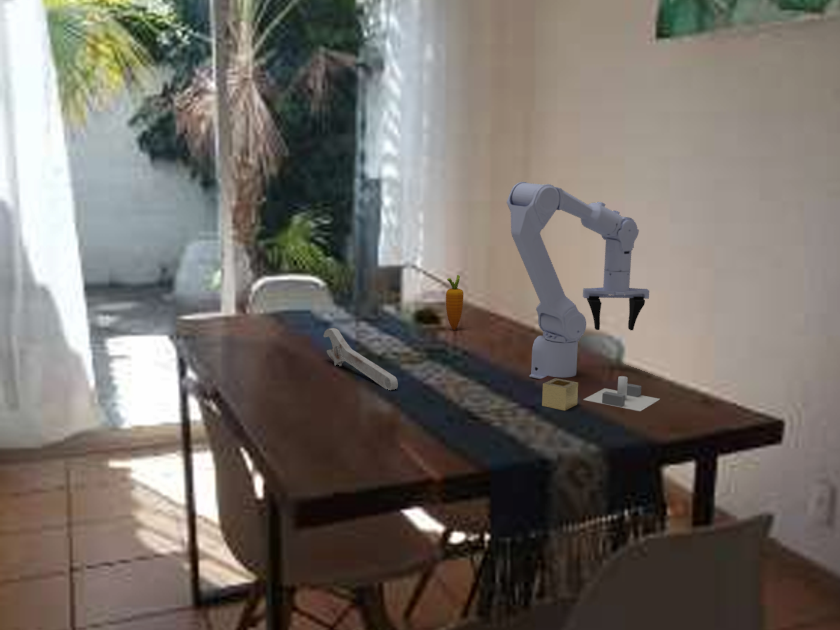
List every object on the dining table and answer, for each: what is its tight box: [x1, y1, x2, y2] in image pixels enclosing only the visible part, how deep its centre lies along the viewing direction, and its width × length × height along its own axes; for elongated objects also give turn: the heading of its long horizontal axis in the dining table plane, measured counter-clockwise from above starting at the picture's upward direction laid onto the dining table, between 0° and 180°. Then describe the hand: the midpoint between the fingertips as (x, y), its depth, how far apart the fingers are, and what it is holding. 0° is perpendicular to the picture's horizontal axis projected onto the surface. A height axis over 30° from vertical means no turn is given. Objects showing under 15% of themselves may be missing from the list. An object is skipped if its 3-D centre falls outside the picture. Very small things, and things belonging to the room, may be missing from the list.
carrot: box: [445, 274, 464, 331], centre depth 242 cm, size 5×5×15 cm
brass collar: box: [541, 377, 579, 412], centre depth 174 cm, size 5×5×5 cm
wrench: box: [323, 327, 399, 391], centre depth 198 cm, size 8×2×30 cm
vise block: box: [583, 375, 661, 412], centre depth 178 cm, size 12×10×6 cm
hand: (613, 329), depth 203 cm, fingers open, 7 cm apart
